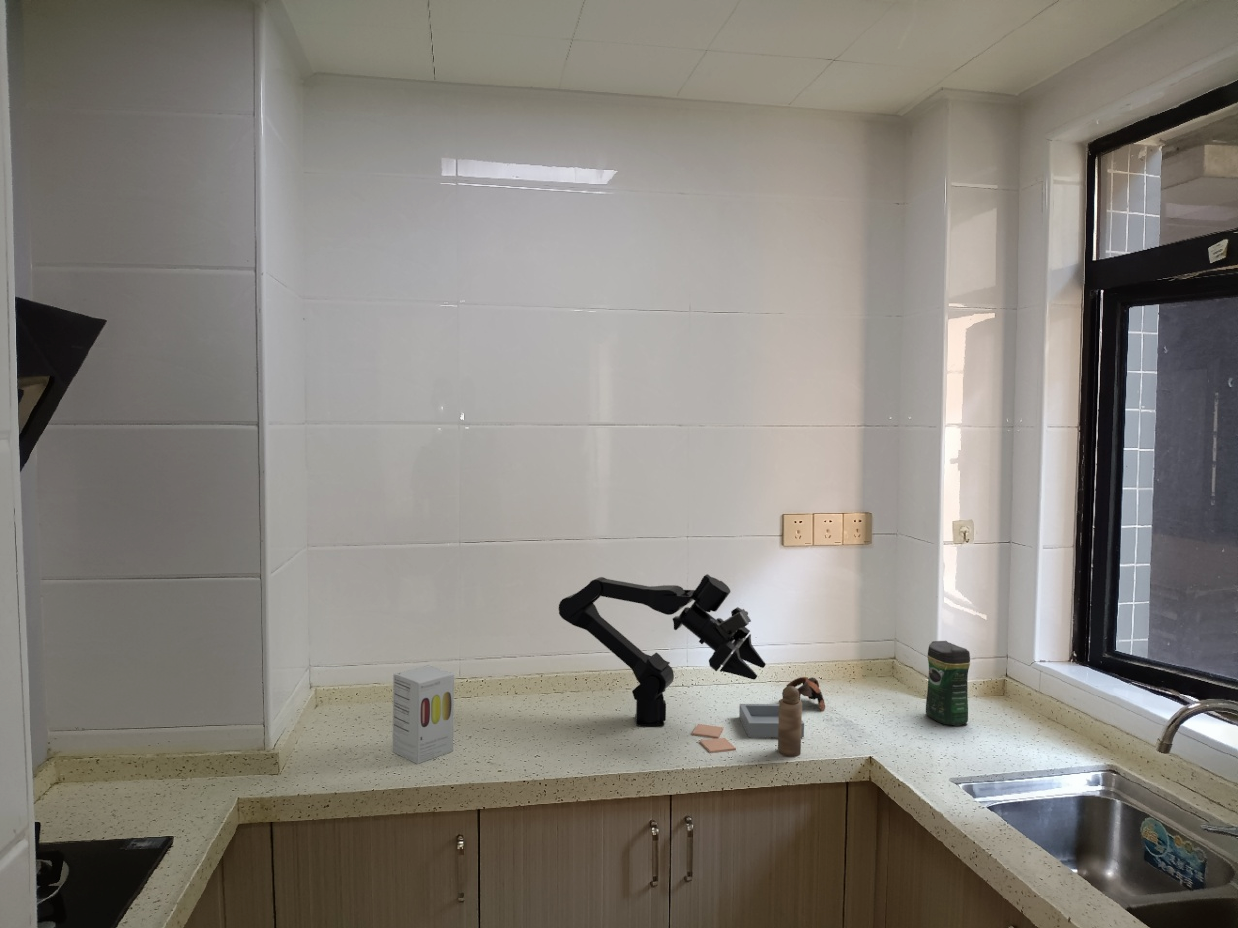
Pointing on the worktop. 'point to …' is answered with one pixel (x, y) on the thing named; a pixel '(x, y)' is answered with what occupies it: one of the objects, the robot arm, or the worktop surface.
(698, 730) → the tile
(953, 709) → the coffee jar
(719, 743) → the tile
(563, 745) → the worktop surface
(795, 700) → the pepper mill
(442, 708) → the supplement box
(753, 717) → the tray
